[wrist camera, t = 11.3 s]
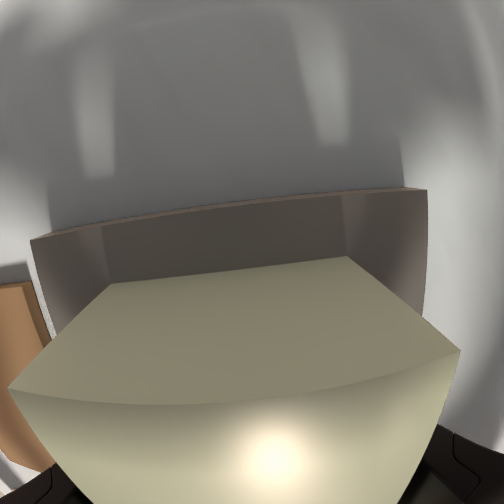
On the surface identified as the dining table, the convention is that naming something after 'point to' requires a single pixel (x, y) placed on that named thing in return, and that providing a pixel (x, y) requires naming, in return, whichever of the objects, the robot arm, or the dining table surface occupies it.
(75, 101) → the dining table surface
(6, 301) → the walnut mat
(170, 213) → the base
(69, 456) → the cover
